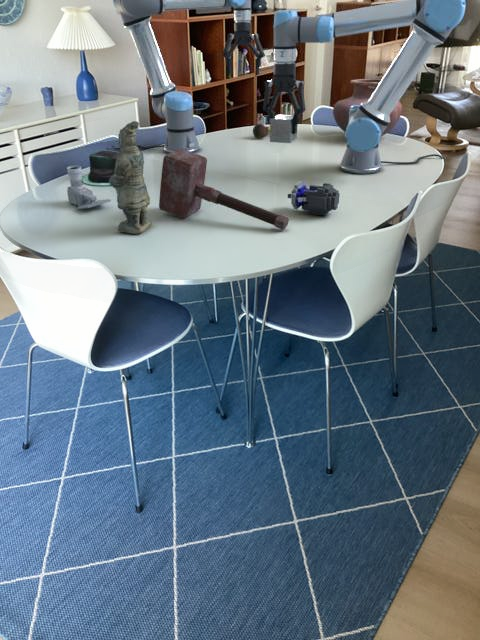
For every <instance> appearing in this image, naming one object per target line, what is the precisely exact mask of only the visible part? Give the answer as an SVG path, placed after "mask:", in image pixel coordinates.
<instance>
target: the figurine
mask: <svg viewBox="0 0 480 640" xmlns="http://www.w3.org/2000/svg"><path fill="white" fill-rule="evenodd" d="M262 123H263V120H262V119H260V121H259V123H258V124H254V126H253V128H252V135H253V137H254V138H256V139H263V138H265V137H267V136H268V135H269V133H270V126H267V125H265V124H262Z"/></svg>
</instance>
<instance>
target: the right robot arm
mask: <svg viewBox="0 0 480 640" xmlns="http://www.w3.org/2000/svg"><path fill="white" fill-rule="evenodd" d="M465 12H466V0H398V1H394V2H393V1H392V2H388V3H381V4H377V5H371V6H364V7H358V8H353V9H347V10H341V11H337V12H332V13H331V12H330V13H323V14H317V15H315V16H299V15H298V11H297V10H295V9H293V10H291V9H290V10H289V9H286V10H285V9H284V10H276V11H275V12H274V16H273V18H274V19H273V28H272V29H273V62H274V63H273V77H272V79H271V80H266V81H264V87H265V88H264V89H265V90H264V98H263V104H262V111H263V112H266V113H267V122H268V123H270V119H271V118H272V117H274V116H276V111H274V109H275V107H276V104H277V102H278V99H279V97H280V94H281V93H287V95H288V97H289V99H290V102H291V105H292V108H293V110H294V113H293V114H292V115H293V134H295V133H297V134H298V125H299V124H300V122H301V114H302V113H304V112H306V101H305V91H304V87H305V81H304V80H302V81H300V80H297V78H296V77H297V75H296V72H297V71H296V70H297V69H296V68H297V65H296V63H295V62H296V61H297V44H302V43H304V44H305V43H307V44H324V43H325V44H326V43H331V42H332V41H333V39H334V38H340V37H345V36H346V37H347V36H352V35H358V34H364V33H371V32H378V31H383V30H390V29H397V28H403V27H409V26H411V27H412V31H411V33H410V35H409V37H408V38H407V40H406V41H405V42H404V44H403V46H402V47H401V48H400V51H399V52H398V53H397V55H396V57H395V58H394V60H393V61H392V63H391V65H390V66H389V68H388V69H387V71H386V73H385V74H384V75H383V77H382V79H381V82H380V84H379V85H378V87H377V88H376V90H375V91H374V93H373V95H372V96H371V98H370V99H369V101H367V102H364V103H362V104H361V105H353V106H351V107H350V112H349V123H348V126H347V128H346V131H345V132H344V138H345V142H346V149H345V151H344V154H343V156H342V158H341V162H340V170H341V171H343V172H345V173H349V174H355V175H356V174H357V175H369V174H370V175H371V174H376V173H378V172H380V171H382V164H391V165H411V164H412V165H413V164H418V163H419V162H420V160H422V159H425V158H430V157H437V158H440V159H442V160H444V157H443V156H442V155H441V154H437V153H434V154H426V155H422V156H419V157H418V158H417V160H416V161H388V160H381V155H380V150H379V147H380V145H379V144H380V140H381V137H382V136H381V135H382V133H383V132H384V130H385V129H386V127H387V126H388V124H389V123H390V113H391V112H392V110H393V109H394V107H395V106H396V104H397V103H398V101H399V102H400V100H401V98H402V97H403V95H404V94H405V92H406V91H407V89H408V88H409V86H410V85H411V83H412V82H413V81H414V79H415V78H416V76H417V75H418V73H419V72H420V69H422V67H423V66H424V64H425V62H426V61H427V60H428V58H429V57H430V55H431V54H432V53H433V51H434V49H435V48H436V47H437V46H440V45H443V44H444V43H445V41H446V40H447V39H448V37H449V35H450V34H451V33H452V31H453V29H454V28H456V27H457V26H458V25H459V24H460V23H461V21H462V20H463V18H464V16H465ZM273 86H274V88H275V90H274V91H273V94H272V95H273V96H272V98H271V91H272V87H273ZM295 86H296V88H297V95H298V99H297V97H296V94H295V90H294V87H295ZM270 99H271V100H270ZM298 102H299V103H298ZM380 136H381V137H380Z"/></svg>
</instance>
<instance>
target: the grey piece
mask: <svg viewBox="0 0 480 640" xmlns="http://www.w3.org/2000/svg"><path fill="white" fill-rule="evenodd" d="M66 171H67V176H68V177H69V182H70V186H67V189H66V193H67V200H68V202H69V203H70V204H71V205H75V206H77V207H76V209H77V210H79V209H80V210H81V209H90V208H93V207H96V206H100V205H103V204H106V203H109V202H111V201H112V199H109V198H107V199H98V198H97V197H98V196H97V195H94V193H93V190H92V189H90V188H87V187H84V184H83V183H84V182H83V181H82V178H83V177H82V175H83V172H82V166H80V165H69V166H67V168H66Z"/></svg>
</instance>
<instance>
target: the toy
mask: <svg viewBox="0 0 480 640" xmlns="http://www.w3.org/2000/svg"><path fill="white" fill-rule="evenodd" d="M293 187H294V188H293V189H292V191H291V193H288V194H287V199H291V200H290V201H291V202H290V203H291V206H292V207H293V210H298V209H299V208H301V210H303V211H306V212H307V214H310V215H311V214H312V215H318V216H326V215H328V213H330V212H331V211H336V210H337V209H338V205H339V204H340V194H341V193H340V190H338V189H337V188H335V187H334V184H332V183H328V182H324V183H322V185H315V184H310V185H309V186H308V187H309V188H308V187H307V185H306V184H305V183H304V181H301V180H299V181H298V182H296V183H295V184H294V186H293Z"/></svg>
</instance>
